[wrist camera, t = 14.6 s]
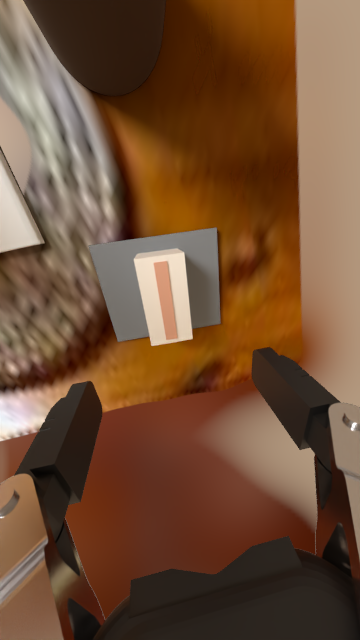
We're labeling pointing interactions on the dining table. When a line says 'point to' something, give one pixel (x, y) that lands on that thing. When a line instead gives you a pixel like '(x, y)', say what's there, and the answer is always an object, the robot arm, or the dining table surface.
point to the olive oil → (103, 39)
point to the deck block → (164, 295)
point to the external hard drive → (14, 213)
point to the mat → (124, 288)
